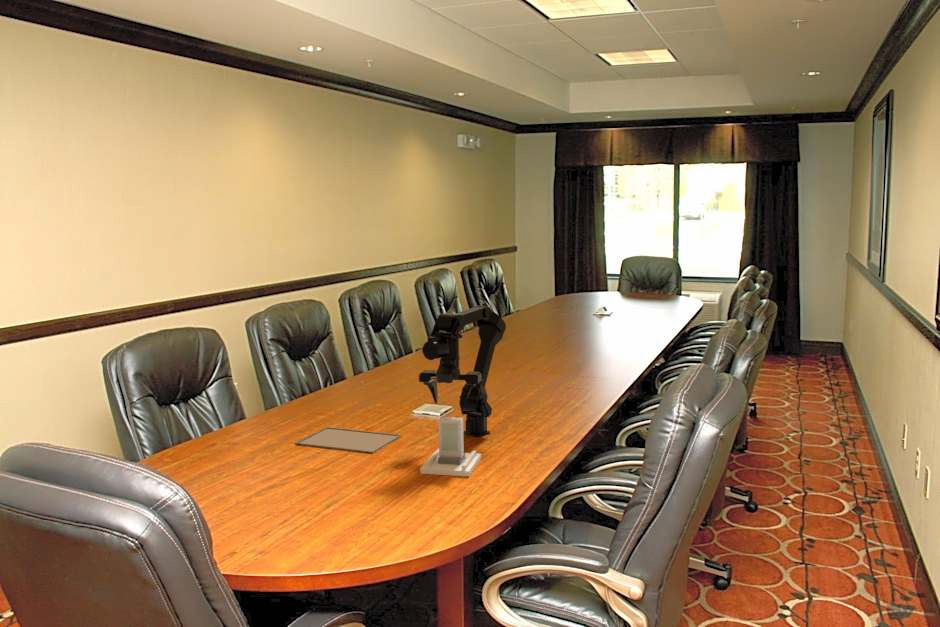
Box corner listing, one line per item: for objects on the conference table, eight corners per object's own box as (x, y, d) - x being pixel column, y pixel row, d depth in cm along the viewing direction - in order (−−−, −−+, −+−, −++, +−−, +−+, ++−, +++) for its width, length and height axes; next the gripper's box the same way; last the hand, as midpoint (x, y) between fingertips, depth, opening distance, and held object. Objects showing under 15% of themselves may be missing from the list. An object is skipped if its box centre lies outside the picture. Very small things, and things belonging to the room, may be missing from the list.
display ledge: (435, 456, 249) (435, 447, 249) (481, 458, 246) (481, 449, 246) (420, 473, 234) (420, 464, 233) (469, 476, 230) (468, 467, 230)
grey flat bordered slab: (401, 437, 270) (327, 429, 280) (401, 434, 270) (326, 427, 280) (373, 455, 252) (294, 445, 263) (373, 451, 252) (294, 442, 263)
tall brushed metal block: (443, 457, 243) (442, 415, 241) (464, 458, 242) (464, 416, 240) (437, 463, 237) (437, 420, 236) (460, 464, 236) (459, 421, 234)
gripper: (413, 358, 250) (414, 409, 253) (473, 360, 246) (474, 412, 248) (423, 351, 261) (424, 400, 263) (481, 353, 257) (482, 402, 259)
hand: (450, 404), depth 258 cm, fingers open, 9 cm apart
